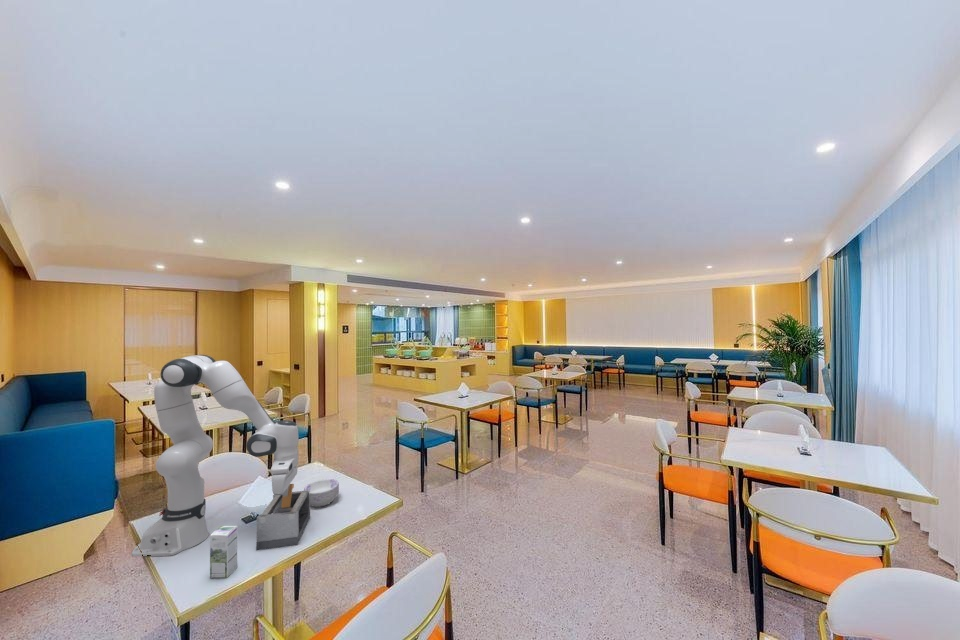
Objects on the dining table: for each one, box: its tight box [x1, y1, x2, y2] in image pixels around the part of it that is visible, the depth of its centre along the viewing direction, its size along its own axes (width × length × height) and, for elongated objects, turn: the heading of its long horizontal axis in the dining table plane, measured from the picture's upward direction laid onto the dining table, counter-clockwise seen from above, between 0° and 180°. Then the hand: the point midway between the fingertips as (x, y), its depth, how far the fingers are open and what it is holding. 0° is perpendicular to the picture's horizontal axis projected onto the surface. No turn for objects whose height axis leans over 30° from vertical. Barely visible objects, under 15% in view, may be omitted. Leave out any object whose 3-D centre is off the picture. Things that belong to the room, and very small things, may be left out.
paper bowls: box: [303, 478, 340, 508], centre depth 170 cm, size 15×15×8 cm
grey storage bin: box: [255, 490, 311, 551], centre depth 144 cm, size 20×14×12 cm
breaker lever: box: [279, 483, 295, 513], centre depth 146 cm, size 2×4×10 cm, turn 103°
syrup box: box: [209, 525, 238, 579], centre depth 121 cm, size 6×6×14 cm
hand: (285, 495), depth 145 cm, fingers closed
